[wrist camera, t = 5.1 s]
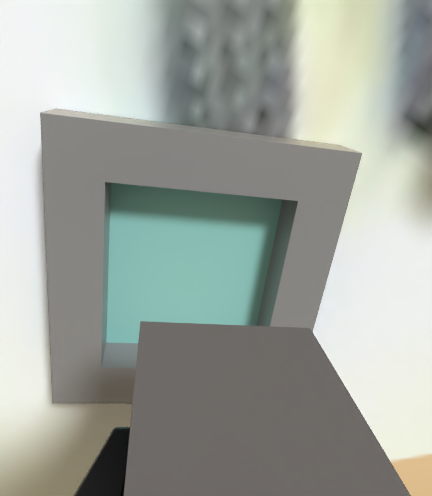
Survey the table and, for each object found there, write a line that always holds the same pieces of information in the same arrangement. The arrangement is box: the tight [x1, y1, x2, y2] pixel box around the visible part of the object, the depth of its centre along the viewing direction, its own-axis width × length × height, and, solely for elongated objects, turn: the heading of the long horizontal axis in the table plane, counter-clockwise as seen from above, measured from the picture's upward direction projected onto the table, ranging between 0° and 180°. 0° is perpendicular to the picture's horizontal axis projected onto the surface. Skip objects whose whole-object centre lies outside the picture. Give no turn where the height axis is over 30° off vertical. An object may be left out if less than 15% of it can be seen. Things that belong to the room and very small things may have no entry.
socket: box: [40, 109, 362, 403], centre depth 16 cm, size 11×12×2 cm
